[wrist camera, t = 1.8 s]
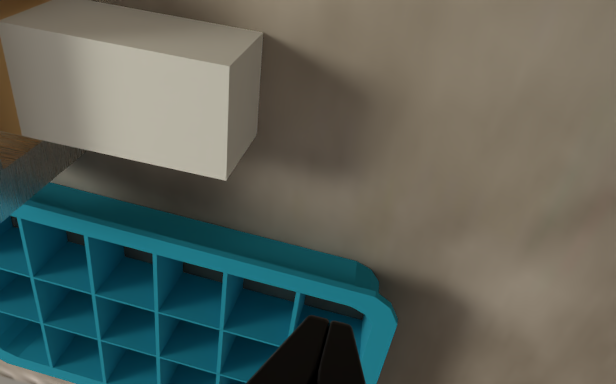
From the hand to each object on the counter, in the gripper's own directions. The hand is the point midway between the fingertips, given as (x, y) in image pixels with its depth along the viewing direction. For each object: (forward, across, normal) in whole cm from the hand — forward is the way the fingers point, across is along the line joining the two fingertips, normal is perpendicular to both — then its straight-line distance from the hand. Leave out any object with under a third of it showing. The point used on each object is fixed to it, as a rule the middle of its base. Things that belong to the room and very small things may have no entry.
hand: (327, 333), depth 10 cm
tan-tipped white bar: (+10, +10, 0) cm, 14 cm away
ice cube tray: (+11, +8, +12) cm, 18 cm away
